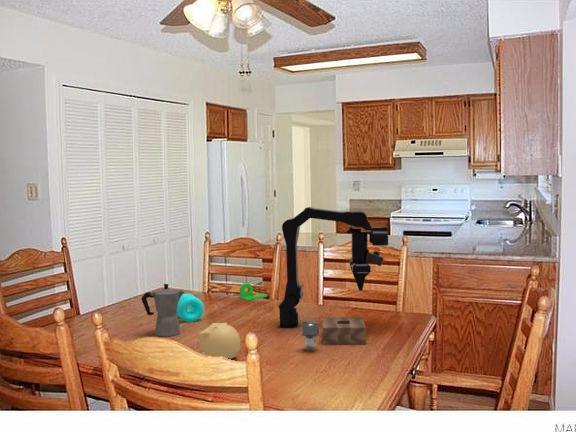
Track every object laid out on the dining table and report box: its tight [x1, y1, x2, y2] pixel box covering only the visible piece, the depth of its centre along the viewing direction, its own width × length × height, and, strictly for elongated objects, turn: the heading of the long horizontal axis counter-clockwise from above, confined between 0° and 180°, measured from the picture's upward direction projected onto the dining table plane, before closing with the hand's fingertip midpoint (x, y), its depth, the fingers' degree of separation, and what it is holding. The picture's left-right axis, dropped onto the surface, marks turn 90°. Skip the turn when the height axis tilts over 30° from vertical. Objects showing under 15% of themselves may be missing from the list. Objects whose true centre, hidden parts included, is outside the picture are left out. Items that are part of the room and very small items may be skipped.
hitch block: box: [322, 316, 367, 345], centre depth 187 cm, size 14×14×6 cm
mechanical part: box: [239, 282, 268, 301], centre depth 253 cm, size 12×6×8 cm, turn 122°
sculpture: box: [198, 322, 241, 360], centre depth 169 cm, size 12×12×11 cm
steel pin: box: [300, 320, 320, 352], centre depth 175 cm, size 5×5×8 cm
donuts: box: [176, 293, 205, 323], centre depth 217 cm, size 10×10×10 cm
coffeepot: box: [141, 283, 185, 338], centre depth 198 cm, size 15×9×18 cm, turn 116°
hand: (359, 288), depth 200 cm, fingers open, 9 cm apart
